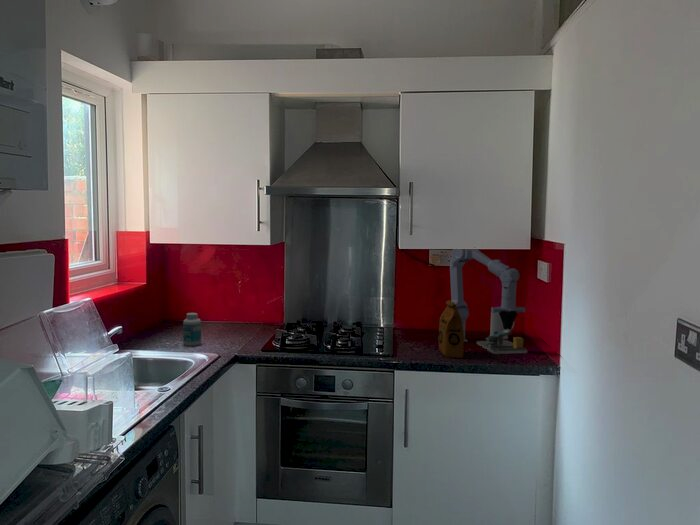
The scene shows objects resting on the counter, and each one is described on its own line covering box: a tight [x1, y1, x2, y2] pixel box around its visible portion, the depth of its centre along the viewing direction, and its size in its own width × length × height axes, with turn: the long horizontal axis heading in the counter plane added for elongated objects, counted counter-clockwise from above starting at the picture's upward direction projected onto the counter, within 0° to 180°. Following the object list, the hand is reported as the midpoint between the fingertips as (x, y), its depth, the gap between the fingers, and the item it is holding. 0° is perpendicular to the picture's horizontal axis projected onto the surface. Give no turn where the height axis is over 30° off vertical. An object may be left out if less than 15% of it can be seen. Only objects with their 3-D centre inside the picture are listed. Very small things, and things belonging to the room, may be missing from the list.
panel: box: [476, 331, 528, 355], centre depth 233 cm, size 15×18×6 cm
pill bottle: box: [182, 312, 202, 347], centre depth 231 cm, size 8×7×14 cm
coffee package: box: [437, 299, 465, 359], centre depth 221 cm, size 10×12×22 cm
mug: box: [489, 311, 515, 340], centre depth 254 cm, size 12×8×12 cm
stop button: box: [488, 335, 497, 343], centre depth 232 cm, size 4×4×2 cm
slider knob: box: [512, 336, 524, 348], centre depth 228 cm, size 3×3×4 cm
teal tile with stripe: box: [485, 330, 512, 341], centre depth 239 cm, size 11×4×1 cm, turn 100°
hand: (507, 328), depth 227 cm, fingers closed
